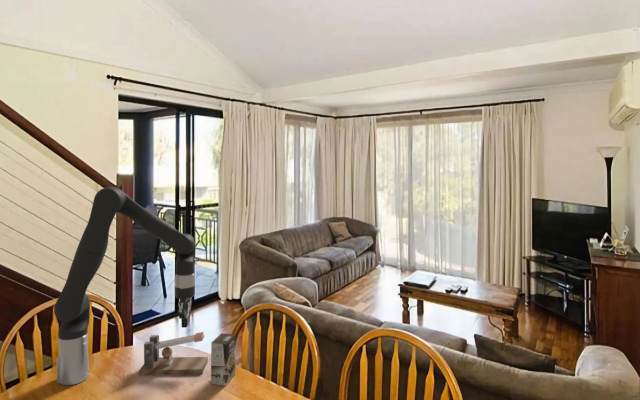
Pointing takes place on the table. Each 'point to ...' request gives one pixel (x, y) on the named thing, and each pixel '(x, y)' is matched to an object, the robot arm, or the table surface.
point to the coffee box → (223, 359)
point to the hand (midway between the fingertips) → (184, 326)
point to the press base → (177, 366)
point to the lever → (179, 341)
